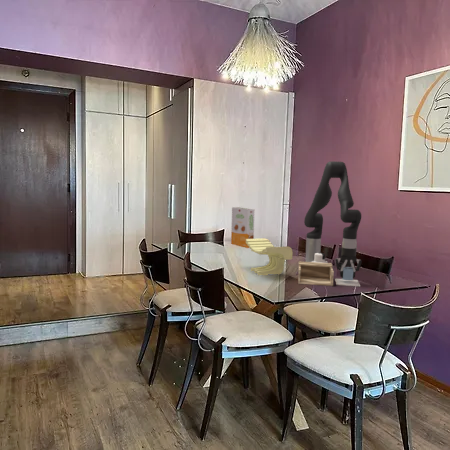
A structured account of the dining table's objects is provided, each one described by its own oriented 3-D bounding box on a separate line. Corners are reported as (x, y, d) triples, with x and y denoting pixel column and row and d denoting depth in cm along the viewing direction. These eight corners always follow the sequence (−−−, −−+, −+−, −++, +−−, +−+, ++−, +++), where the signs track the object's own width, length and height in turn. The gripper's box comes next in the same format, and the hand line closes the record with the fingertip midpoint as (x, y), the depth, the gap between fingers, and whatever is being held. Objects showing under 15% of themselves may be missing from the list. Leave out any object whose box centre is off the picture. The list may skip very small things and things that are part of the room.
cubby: (298, 275, 241) (298, 261, 240) (330, 277, 238) (331, 263, 237) (298, 283, 223) (298, 268, 222) (333, 286, 220) (333, 270, 219)
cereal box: (253, 247, 332) (254, 209, 329) (246, 248, 329) (247, 209, 325) (237, 243, 351) (238, 207, 347) (231, 243, 348) (232, 207, 344)
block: (342, 277, 230) (342, 266, 229) (351, 278, 229) (352, 267, 228) (343, 279, 225) (343, 268, 224) (352, 280, 224) (353, 269, 223)
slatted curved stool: (291, 277, 237) (292, 246, 235) (265, 279, 232) (266, 247, 229) (268, 266, 265) (269, 238, 263) (245, 267, 260) (245, 238, 258)
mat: (334, 279, 234) (334, 278, 234) (357, 280, 232) (357, 279, 232) (336, 285, 222) (336, 283, 222) (360, 286, 220) (360, 285, 220)
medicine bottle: (316, 271, 254) (317, 251, 253) (327, 273, 250) (328, 253, 248) (310, 273, 249) (311, 253, 247) (321, 275, 244) (322, 254, 243)
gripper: (362, 246, 227) (360, 277, 229) (334, 245, 230) (333, 275, 232) (364, 248, 220) (362, 280, 222) (335, 247, 222) (334, 278, 224)
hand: (347, 277), depth 227 cm, fingers closed on block, 5 cm apart
